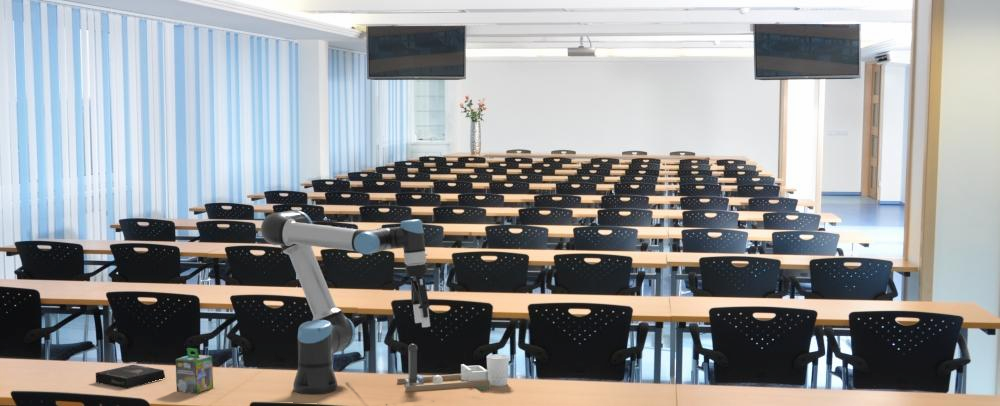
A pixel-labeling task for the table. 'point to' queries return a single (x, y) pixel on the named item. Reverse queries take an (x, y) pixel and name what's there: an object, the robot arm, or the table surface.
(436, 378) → the ball
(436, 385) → the pitch
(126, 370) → the flat black box
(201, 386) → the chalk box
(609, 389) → the table surface
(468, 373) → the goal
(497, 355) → the white cup
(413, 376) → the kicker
